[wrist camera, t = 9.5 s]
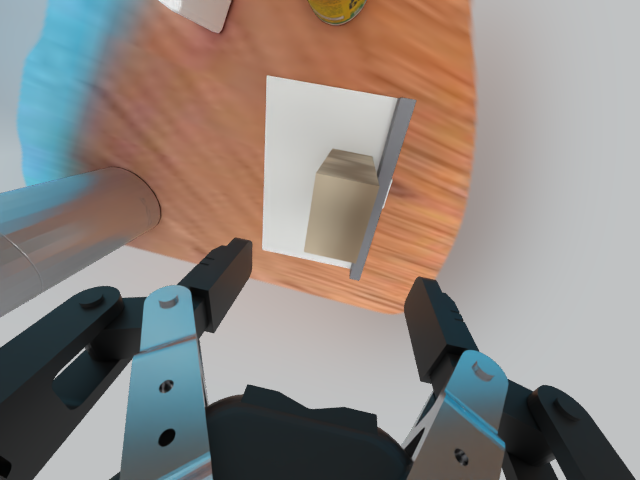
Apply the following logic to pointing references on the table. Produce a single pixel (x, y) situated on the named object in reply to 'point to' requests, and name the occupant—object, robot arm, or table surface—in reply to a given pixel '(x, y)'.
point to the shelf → (323, 155)
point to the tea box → (341, 205)
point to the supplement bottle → (336, 10)
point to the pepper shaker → (201, 11)
